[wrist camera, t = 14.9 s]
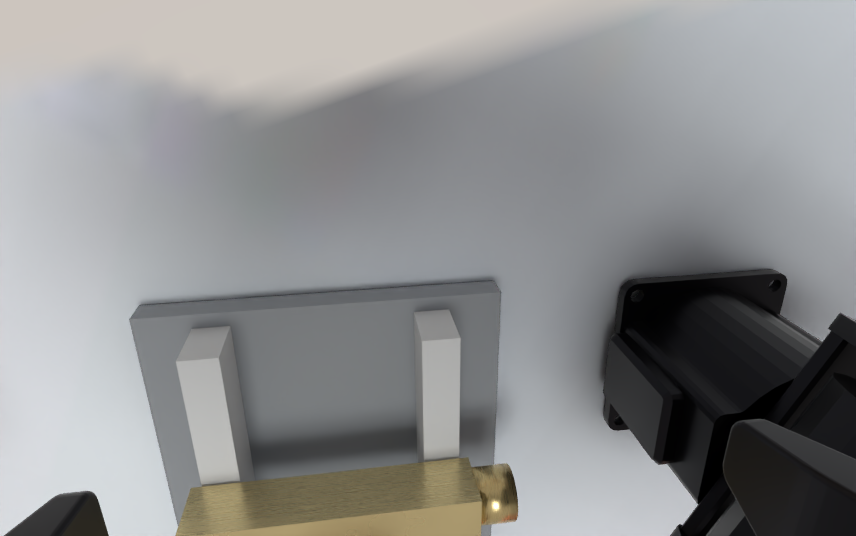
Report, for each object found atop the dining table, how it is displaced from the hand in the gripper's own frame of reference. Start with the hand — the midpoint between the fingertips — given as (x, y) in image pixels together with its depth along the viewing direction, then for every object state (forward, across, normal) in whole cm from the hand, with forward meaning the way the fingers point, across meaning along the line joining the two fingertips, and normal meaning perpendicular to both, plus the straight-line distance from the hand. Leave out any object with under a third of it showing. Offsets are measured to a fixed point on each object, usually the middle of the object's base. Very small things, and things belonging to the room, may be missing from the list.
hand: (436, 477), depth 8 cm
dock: (+12, +2, +11) cm, 17 cm away
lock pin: (+9, +1, +8) cm, 12 cm away
